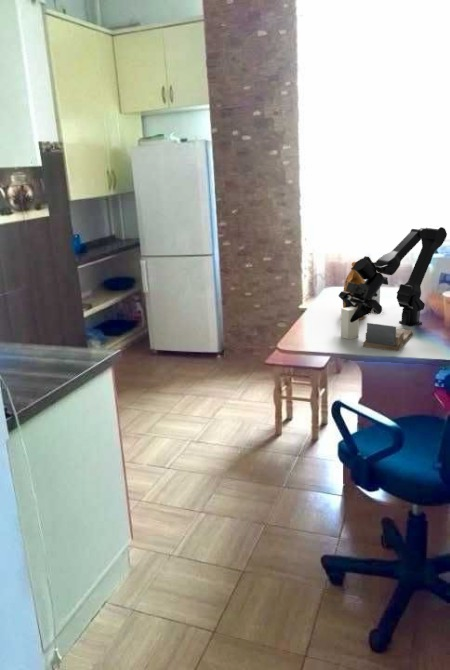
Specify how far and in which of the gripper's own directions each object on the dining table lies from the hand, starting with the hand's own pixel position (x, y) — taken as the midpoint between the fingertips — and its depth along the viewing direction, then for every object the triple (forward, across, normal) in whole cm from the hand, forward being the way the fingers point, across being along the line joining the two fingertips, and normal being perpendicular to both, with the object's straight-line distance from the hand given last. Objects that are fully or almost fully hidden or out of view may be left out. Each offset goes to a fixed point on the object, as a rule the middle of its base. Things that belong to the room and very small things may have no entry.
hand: (347, 320), depth 205 cm
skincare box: (-21, -27, +31) cm, 46 cm away
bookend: (+2, +16, +5) cm, 17 cm away
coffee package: (-10, -21, +20) cm, 31 cm away
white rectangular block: (+4, 0, +6) cm, 7 cm away
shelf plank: (-2, +12, +12) cm, 16 cm away
